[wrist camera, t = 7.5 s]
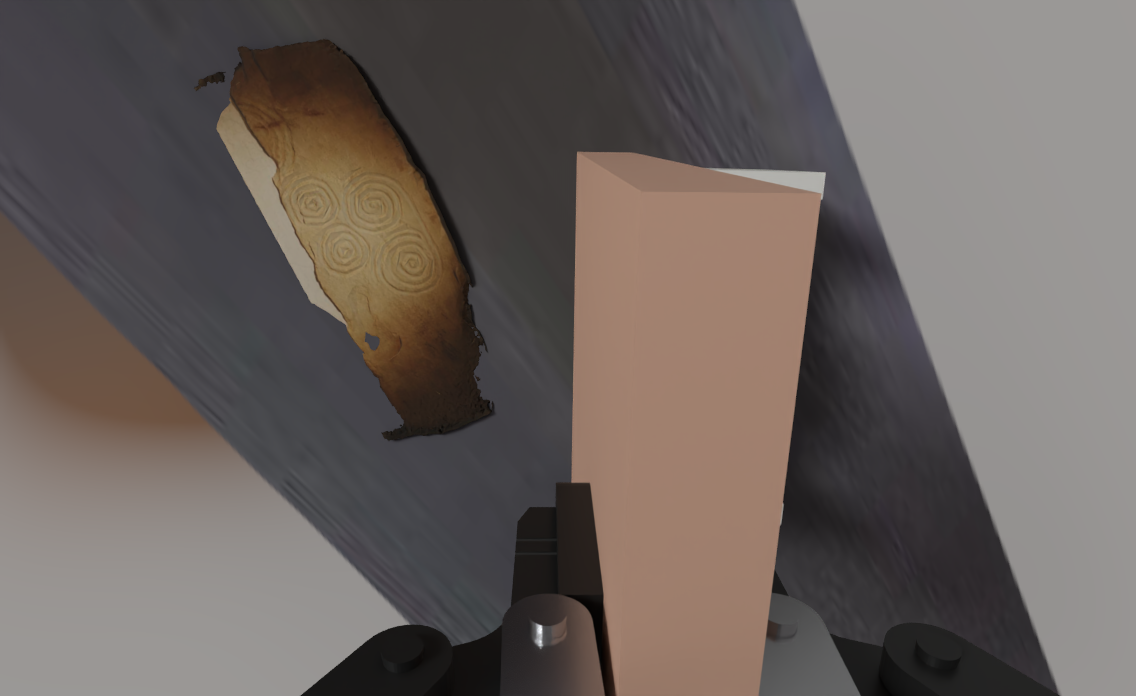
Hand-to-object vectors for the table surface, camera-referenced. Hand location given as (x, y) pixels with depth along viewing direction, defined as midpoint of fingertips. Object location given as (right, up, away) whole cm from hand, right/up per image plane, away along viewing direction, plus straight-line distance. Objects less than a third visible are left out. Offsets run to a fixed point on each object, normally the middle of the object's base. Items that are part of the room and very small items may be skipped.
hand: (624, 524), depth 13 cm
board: (0, +3, +8) cm, 8 cm away
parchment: (-13, +10, +27) cm, 31 cm away
